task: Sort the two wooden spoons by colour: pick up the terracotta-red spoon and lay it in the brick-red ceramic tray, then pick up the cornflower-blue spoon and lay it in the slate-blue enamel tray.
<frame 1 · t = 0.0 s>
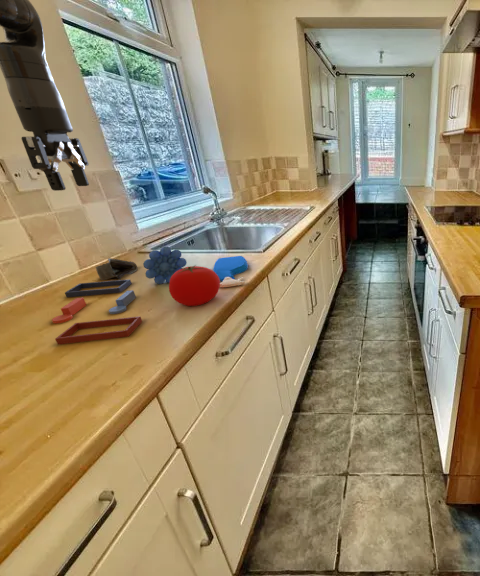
hand: (71, 188, 72), 31 cm above the worktop, tool pointing down, fingers open, 8 cm apart
red tray: (103, 334, 74), on the worktop
red spoon: (72, 315, 82), on the worktop
tomato: (199, 302, 89), on the worktop
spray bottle: (231, 275, 108), on the worktop
blue flower: (171, 282, 102), on the worktop
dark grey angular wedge: (117, 276, 108), on the worktop
blue tray: (101, 291, 96), on the worktop
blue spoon: (124, 307, 86), on the worktop
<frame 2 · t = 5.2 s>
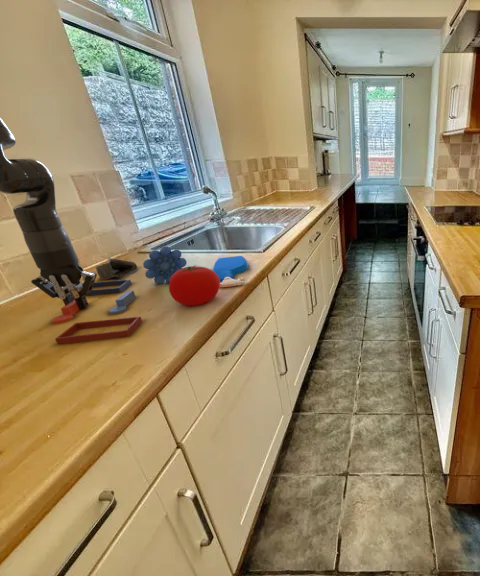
hand: (78, 309, 85), 0 cm above the worktop, tool pointing down, fingers closed on red spoon
red spoon: (72, 315, 82), on the worktop, touching gripper
everything else where it was.
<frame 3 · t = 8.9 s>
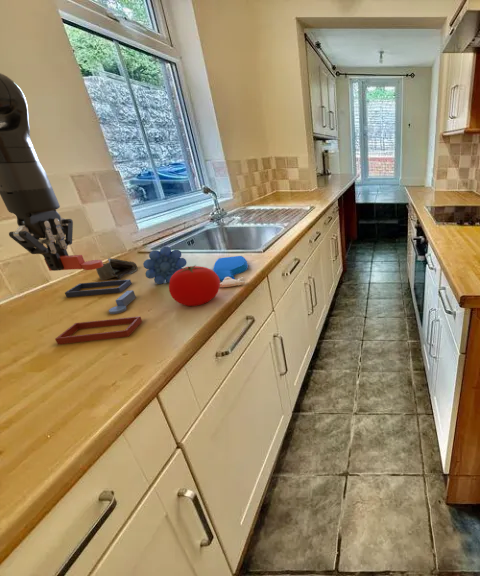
hand: (61, 268, 70), 15 cm above the worktop, tool pointing down, fingers closed on red spoon
red spoon: (77, 268, 71), point 15 cm above the worktop, touching gripper
everything else where it was.
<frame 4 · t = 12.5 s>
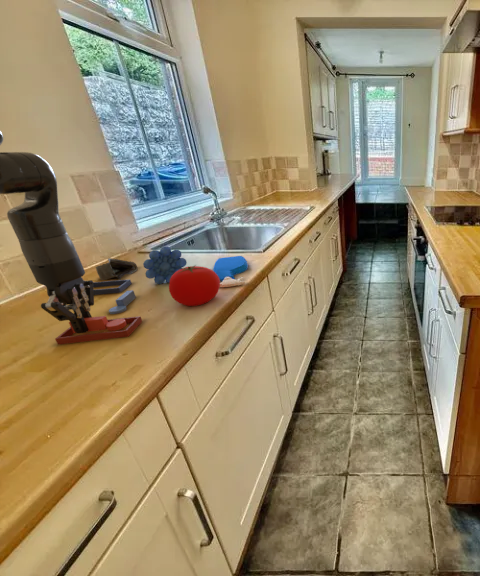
hand: (85, 329, 72), 2 cm above the worktop, tool pointing down, fingers closed on red spoon
red spoon: (101, 328, 73), point 1 cm above the worktop, touching gripper
everything else where it was.
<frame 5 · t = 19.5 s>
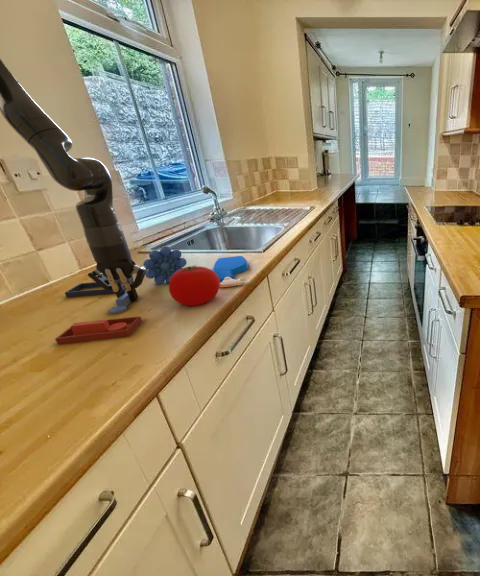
hand: (129, 301, 89), 0 cm above the worktop, tool pointing down, fingers closed on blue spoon
red spoon: (102, 332, 73), resting on red tray
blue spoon: (124, 307, 86), on the worktop, touching gripper
everything else where it was.
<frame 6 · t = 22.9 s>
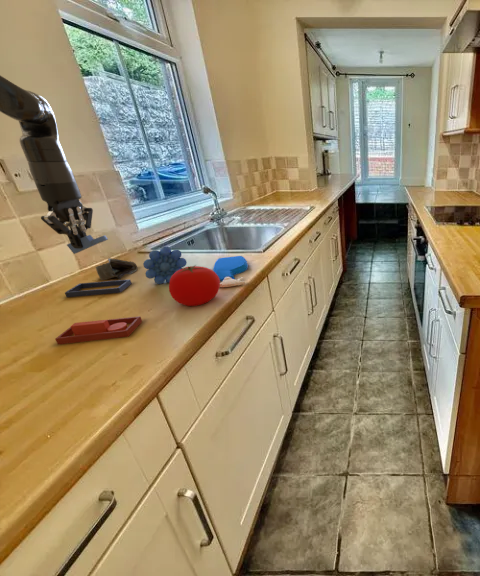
hand: (81, 246, 87), 15 cm above the worktop, tool pointing down, fingers closed on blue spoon
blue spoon: (91, 246, 87), point 15 cm above the worktop, tilted 21°, touching gripper
everything else where it was.
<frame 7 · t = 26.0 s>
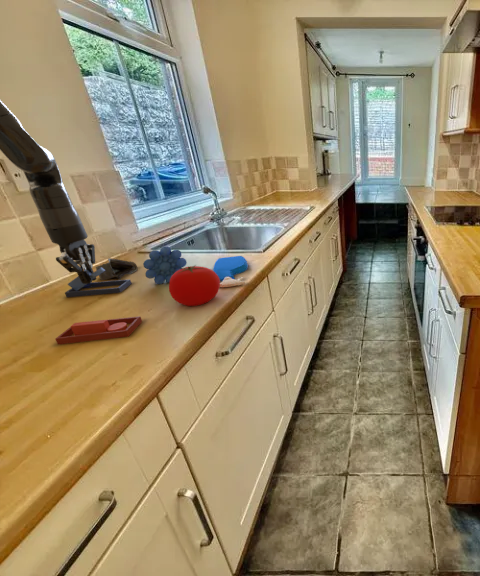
hand: (89, 281, 94), 3 cm above the worktop, tool pointing down, fingers closed on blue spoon
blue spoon: (91, 280, 94), point 4 cm above the worktop, tilted 32°, touching blue tray, gripper
everything else where it was.
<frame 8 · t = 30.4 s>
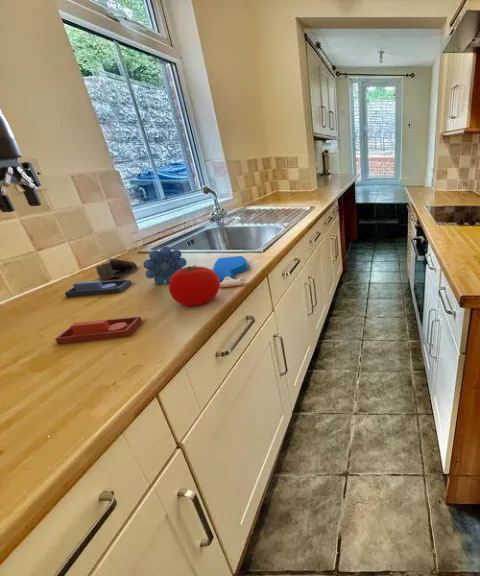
hand: (22, 208, 78), 26 cm above the worktop, tool pointing down, fingers open, 8 cm apart
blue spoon: (97, 290, 95), resting on blue tray
everything else where it was.
at the end: red spoon inside the target area in the red tray (0.0 cm from its centre), point 0.5 cm above the red tray's base; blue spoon inside the target area in the blue tray (0.9 cm from its centre), point 0.5 cm above the blue tray's base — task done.
